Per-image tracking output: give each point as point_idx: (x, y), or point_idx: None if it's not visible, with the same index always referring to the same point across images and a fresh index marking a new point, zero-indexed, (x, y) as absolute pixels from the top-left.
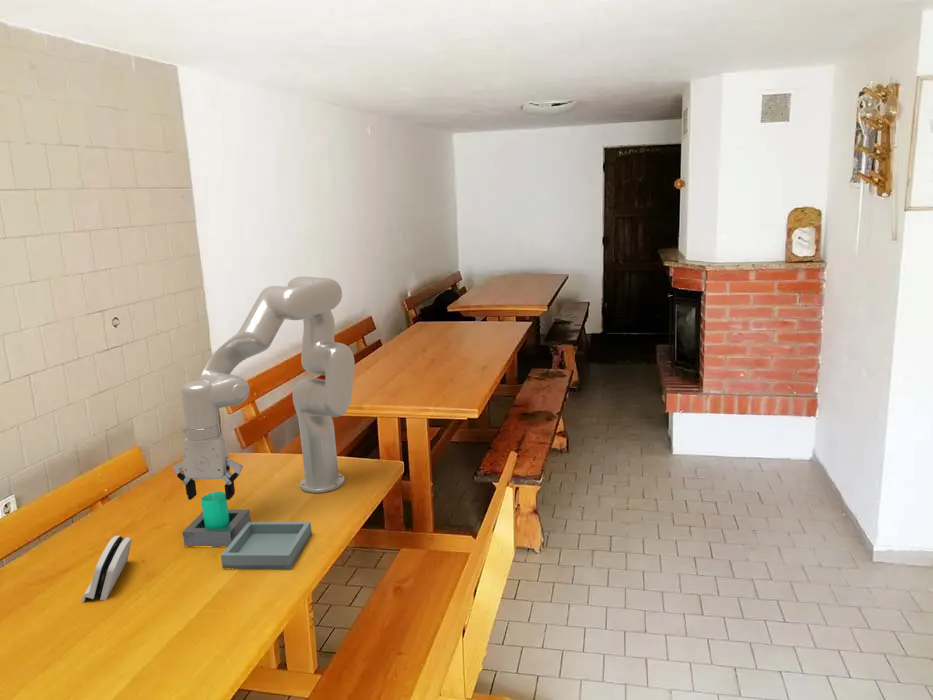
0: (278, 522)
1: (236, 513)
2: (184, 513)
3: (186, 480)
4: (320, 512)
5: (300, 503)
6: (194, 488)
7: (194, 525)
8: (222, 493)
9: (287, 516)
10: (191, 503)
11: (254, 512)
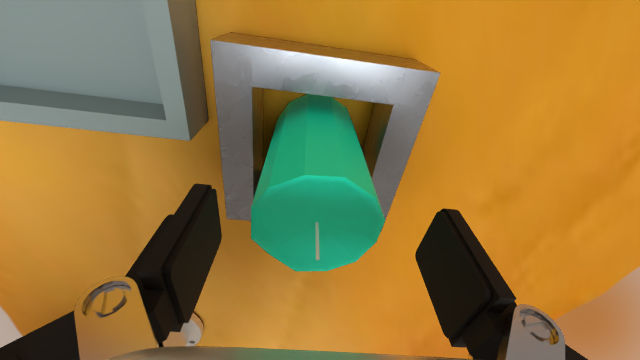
0: (50, 121)
1: None
2: None
3: (535, 344)
4: (65, 223)
5: None
6: (435, 283)
7: (396, 127)
8: (284, 257)
9: (150, 213)
10: None
11: None
